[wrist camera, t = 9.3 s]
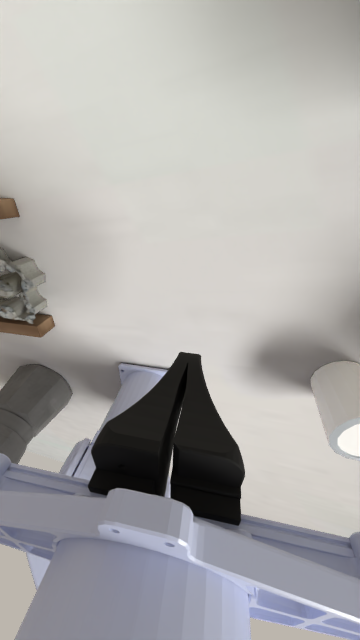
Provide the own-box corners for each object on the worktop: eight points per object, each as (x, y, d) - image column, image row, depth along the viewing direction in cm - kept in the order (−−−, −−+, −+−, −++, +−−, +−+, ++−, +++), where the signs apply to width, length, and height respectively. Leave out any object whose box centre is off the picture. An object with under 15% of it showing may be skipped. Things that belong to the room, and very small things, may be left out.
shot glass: (312, 405, 27) (337, 466, 21) (297, 366, 24) (320, 423, 18) (379, 393, 24) (428, 459, 18) (370, 348, 22) (425, 408, 16)
